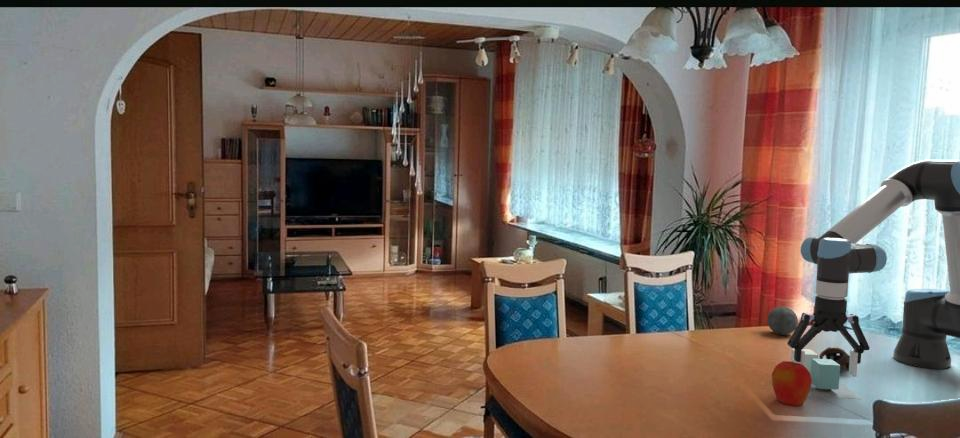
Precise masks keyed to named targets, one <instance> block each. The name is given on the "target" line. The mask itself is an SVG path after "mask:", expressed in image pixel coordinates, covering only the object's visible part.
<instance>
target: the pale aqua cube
mask: <svg viewBox="0 0 960 438" xmlns="http://www.w3.org/2000/svg"><path fill="white" fill-rule="evenodd" d="M840 373H841V369H840V365H839V364H838V363H836V362H835V361H833V360H832V359H827V358H823V359H820V358H818V359H812V362H811V378H812V384H813V385H814V386H816V387H817V388H818V389H836V390H838V389H839V382H840V375H841V374H840Z"/></svg>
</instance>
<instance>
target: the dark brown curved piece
mask: <svg viewBox="0 0 960 438" xmlns="http://www.w3.org/2000/svg"><path fill="white" fill-rule="evenodd" d="M824 357H825V359H832V360H833V361H835V362H836V363H838V364H839V365H840V370H841V369H842V370H847V369H848V370H849V361H850V354H849V353H847V352H846V351H845V350H844V349H843V348H839V347H829V346H828V347H827V348H825V349H824V350H822V351H821V353H820V354H819V355H818V359H824Z"/></svg>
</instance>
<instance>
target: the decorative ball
mask: <svg viewBox="0 0 960 438" xmlns="http://www.w3.org/2000/svg"><path fill="white" fill-rule="evenodd" d="M766 319H767V325H768V327H769V329H770V330H771V331H772V332H773V333H775V334H777V335H781V336H786V335H790V334H791V333H792V334H793V333H794V331H795V329H796V327H797V326H798V324H799V318H798V316H797V313H795V311H793V310H792V309H791V308H789V307H786V306H778V307H775V308H773V309H771V310H770V312H769V313H768V315H767V318H766Z"/></svg>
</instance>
